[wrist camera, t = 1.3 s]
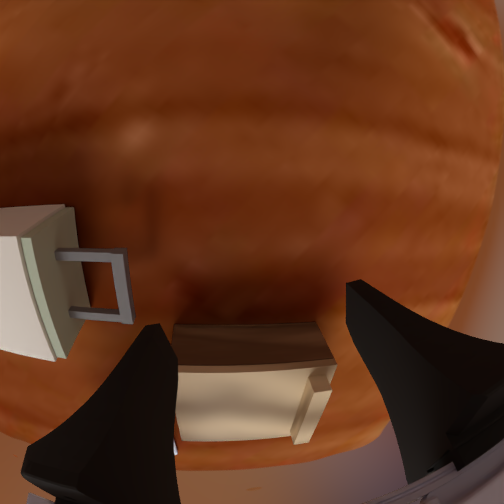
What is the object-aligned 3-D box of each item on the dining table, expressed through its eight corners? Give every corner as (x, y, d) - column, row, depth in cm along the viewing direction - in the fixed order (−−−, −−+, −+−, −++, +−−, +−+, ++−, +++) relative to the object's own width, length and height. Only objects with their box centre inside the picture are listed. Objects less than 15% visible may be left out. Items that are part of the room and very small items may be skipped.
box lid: (307, 427, 24) (313, 445, 22) (181, 434, 22) (181, 454, 20) (334, 358, 20) (344, 379, 18) (168, 364, 18) (166, 389, 16)
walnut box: (296, 393, 28) (306, 426, 24) (182, 397, 26) (181, 433, 22) (315, 321, 24) (333, 357, 20) (174, 324, 22) (168, 363, 18)
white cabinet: (83, 309, 21) (55, 361, 15) (2, 299, 19) (-31, 340, 13) (64, 204, 17) (16, 236, 11) (-20, 209, 16) (-67, 237, 10)
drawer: (145, 312, 22) (131, 366, 16) (8, 300, 19) (-23, 338, 14) (136, 206, 18) (107, 238, 13) (-14, 212, 16) (-58, 238, 10)
